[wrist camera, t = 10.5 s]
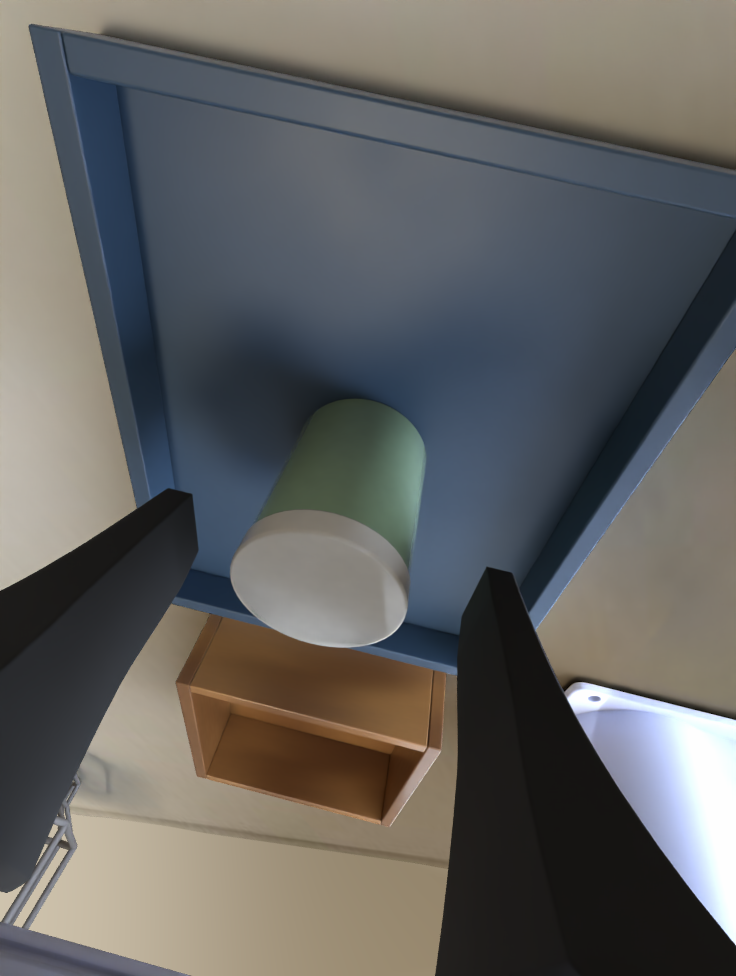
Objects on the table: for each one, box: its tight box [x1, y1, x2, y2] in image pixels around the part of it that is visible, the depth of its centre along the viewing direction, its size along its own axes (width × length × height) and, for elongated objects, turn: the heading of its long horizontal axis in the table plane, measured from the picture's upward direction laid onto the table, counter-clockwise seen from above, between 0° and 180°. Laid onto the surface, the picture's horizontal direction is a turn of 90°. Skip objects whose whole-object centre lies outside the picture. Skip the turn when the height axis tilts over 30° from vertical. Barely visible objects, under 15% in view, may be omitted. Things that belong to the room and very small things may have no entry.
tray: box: [29, 24, 736, 676], centre depth 14 cm, size 14×17×2 cm
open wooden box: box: [176, 614, 446, 827], centre depth 24 cm, size 11×11×4 cm
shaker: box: [230, 398, 426, 648], centre depth 13 cm, size 4×4×6 cm
